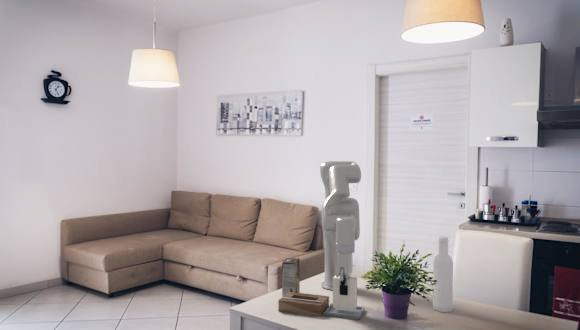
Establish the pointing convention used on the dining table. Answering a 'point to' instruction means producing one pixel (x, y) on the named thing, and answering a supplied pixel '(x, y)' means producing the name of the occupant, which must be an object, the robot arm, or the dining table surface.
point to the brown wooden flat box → (304, 303)
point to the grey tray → (344, 312)
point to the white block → (345, 300)
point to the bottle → (443, 278)
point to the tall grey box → (290, 275)
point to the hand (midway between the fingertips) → (344, 292)
